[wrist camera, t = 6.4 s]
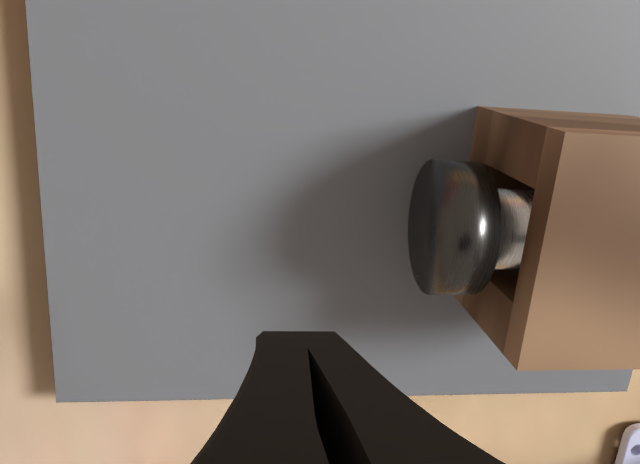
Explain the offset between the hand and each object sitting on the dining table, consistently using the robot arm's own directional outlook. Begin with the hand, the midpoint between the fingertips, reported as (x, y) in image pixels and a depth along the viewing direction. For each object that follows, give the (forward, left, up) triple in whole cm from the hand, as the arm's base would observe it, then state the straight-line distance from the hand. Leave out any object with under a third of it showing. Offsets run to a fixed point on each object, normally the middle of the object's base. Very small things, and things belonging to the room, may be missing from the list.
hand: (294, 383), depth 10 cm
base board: (+1, -4, -9) cm, 10 cm away
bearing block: (+1, -9, -8) cm, 12 cm away
